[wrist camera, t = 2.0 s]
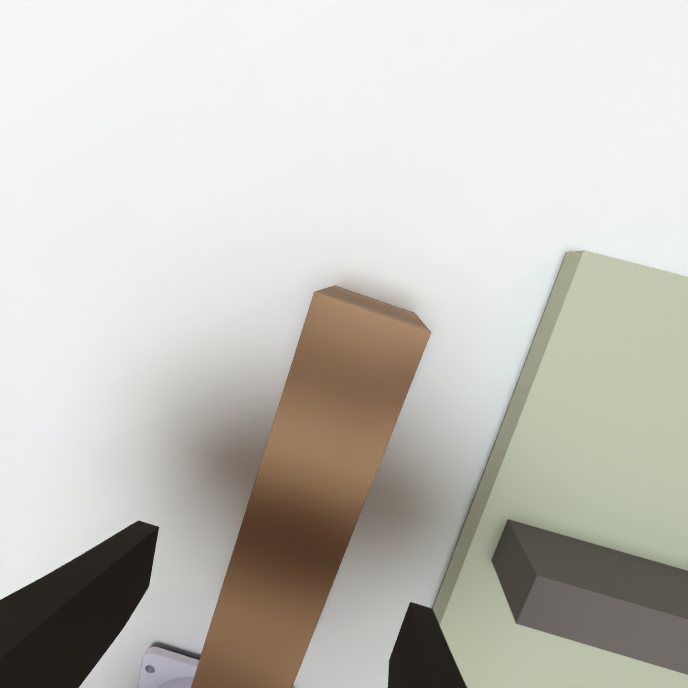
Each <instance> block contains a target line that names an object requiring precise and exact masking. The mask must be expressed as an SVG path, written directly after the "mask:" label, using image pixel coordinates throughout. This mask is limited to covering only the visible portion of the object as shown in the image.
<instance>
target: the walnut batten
mask: <svg viewBox="0 0 688 688" xmlns="http://www.w3.org/2000/svg"><path fill="white" fill-rule="evenodd" d="M430 334H431V332H430V330H429V329H428V328H427V327H426V326H425V325H424V323H423V322H422V321H421V320H420V319H419V318H418V316H417V315H416V314H415V313H413V312H410V311H407V310H404V309H401V308H398V307H395V306H392V305H389V304H386V303H384V302H381V301H378V300H375V299H372V298H369V297H366V296H363V295H360V294H357V293H354V292H351V291H349V290H346V289H343V288H340V287H337V286H332V287H329V288H326V289H322V290H319V291H316V292H314V294H313V297H312V301H311V304H310V307H309V310H308V313H307V317H306V320H305V323H304V326H303V329H302V333H301V336H300V339H299V342H298V345H297V349H296V352H295V355H294V358H293V361H292V365H291V368H290V371H289V374H288V377H287V381H286V384H285V387H284V390H283V393H282V397H281V400H280V403H279V406H278V410H277V413H276V416H275V419H274V422H273V426H272V429H271V432H270V435H269V438H268V442H267V445H266V448H265V451H264V454H263V458H262V461H261V464H260V467H259V470H258V474H257V477H256V480H255V483H254V486H253V490H252V493H251V496H250V499H249V502H248V506H247V509H246V512H245V515H244V519H243V522H242V525H241V528H240V531H239V535H238V538H237V541H236V544H235V547H234V551H233V554H232V557H231V560H230V563H229V567H228V570H227V573H226V576H225V579H224V583H223V586H222V589H221V592H220V595H219V599H218V602H217V605H216V608H215V611H214V615H213V618H212V621H211V624H210V628H209V631H208V634H207V637H206V640H205V644H204V647H203V650H202V653H201V656H200V660H199V663H198V666H197V669H196V672H195V676H194V679H193V682H192V685H191V688H292V686H293V684H294V681H295V679H296V676H297V674H298V671H299V668H300V666H301V663H302V661H303V658H304V656H305V653H306V651H307V648H308V645H309V643H310V640H311V638H312V635H313V633H314V630H315V628H316V625H317V622H318V620H319V617H320V615H321V612H322V610H323V607H324V605H325V602H326V599H327V597H328V594H329V592H330V589H331V587H332V584H333V582H334V579H335V577H336V574H337V571H338V569H339V566H340V564H341V561H342V559H343V556H344V554H345V551H346V548H347V546H348V543H349V541H350V538H351V536H352V533H353V531H354V528H355V525H356V523H357V520H358V518H359V515H360V513H361V510H362V508H363V505H364V502H365V500H366V497H367V495H368V492H369V490H370V487H371V485H372V482H373V479H374V477H375V474H376V472H377V469H378V467H379V464H380V462H381V459H382V457H383V454H384V451H385V449H386V446H387V444H388V441H389V439H390V436H391V434H392V431H393V428H394V426H395V423H396V421H397V418H398V416H399V413H400V411H401V408H402V405H403V403H404V400H405V398H406V395H407V393H408V390H409V388H410V385H411V382H412V380H413V377H414V375H415V372H416V370H417V367H418V365H419V362H420V359H421V357H422V354H423V352H424V349H425V347H426V344H427V342H428V339H429V337H430Z"/></svg>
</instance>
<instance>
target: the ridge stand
mask: <svg viewBox="0 0 688 688" xmlns="http://www.w3.org/2000/svg"><path fill="white" fill-rule="evenodd" d="M433 611H434V613H435V615H436V618H437V620H438V622H439V625H440V627H441V630H442V632H443V634H444V637H445V639H446V641H447V644H448V646H449V648H450V651H451V653H452V655H453V657H454V660H455V662H456V664H457V666H458V669H459V671H460V673H461V675H462V677H463V680H464V682H465V684H466V686H467V688H688V277H686V276H682V275H678V274H674V273H670V272H666V271H662V270H658V269H654V268H650V267H646V266H642V265H638V264H635V263H631V262H627V261H623V260H619V259H615V258H611V257H607V256H603V255H599V254H595V253H591V252H587V251H576V252H566V255H565V258H564V260H563V263H562V266H561V268H560V271H559V274H558V276H557V279H556V282H555V284H554V287H553V290H552V292H551V295H550V298H549V300H548V303H547V306H546V308H545V311H544V314H543V316H542V319H541V322H540V324H539V327H538V330H537V332H536V335H535V338H534V340H533V343H532V346H531V348H530V351H529V354H528V356H527V359H526V362H525V364H524V367H523V370H522V372H521V375H520V378H519V380H518V383H517V386H516V388H515V391H514V394H513V396H512V399H511V402H510V404H509V407H508V410H507V412H506V415H505V418H504V420H503V423H502V426H501V428H500V431H499V434H498V436H497V439H496V442H495V444H494V447H493V449H492V452H491V455H490V457H489V460H488V463H487V465H486V468H485V471H484V473H483V476H482V479H481V481H480V484H479V487H478V489H477V492H476V495H475V497H474V500H473V503H472V505H471V508H470V511H469V513H468V516H467V519H466V521H465V524H464V527H463V529H462V532H461V535H460V537H459V540H458V543H457V545H456V548H455V551H454V553H453V556H452V559H451V561H450V564H449V567H448V569H447V572H446V575H445V577H444V580H443V583H442V585H441V588H440V591H439V593H438V596H437V599H436V601H435V604H434V607H433Z"/></svg>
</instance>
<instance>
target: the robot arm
mask: <svg viewBox="0 0 688 688" xmlns="http://www.w3.org/2000/svg"><path fill="white" fill-rule="evenodd" d="M158 530H159V527H158V526H155V525H151V524H148V523H145V522H141V521H137V522H135V523H133V524H132V525H130V526H128V527H127V528H125V529H123V530H122V531H120V532H118V533H117V534H115V535H113V536H112V537H110V538H108V539H107V540H105V541H104V542H102V543H100V544H99V545H97V546H95V547H94V548H92V549H90V550H89V551H87V552H85V553H84V554H82V555H80V556H79V557H77V558H75V559H73V560H72V561H70V562H68V563H66V564H65V565H63V566H61V567H60V568H58V569H56V570H54V571H53V572H51V573H49V574H47V575H46V576H44V577H42V578H40V579H38V580H36V581H35V582H33V583H31V584H29V585H27V586H25V587H23V588H22V589H20V590H18V591H16V592H14V593H12V594H10V595H9V596H7V597H5V598H3V599H1V600H0V688H79V686H80V685H81V684H82V682H83V681H84V680H85V679H86V677H87V676H88V675H89V673H90V672H91V671H92V669H93V668H94V667H95V665H96V664H97V663H98V661H99V660H100V659H101V657H102V656H103V655H104V653H105V652H106V651H107V649H108V648H109V647H110V645H111V644H112V643H113V641H114V640H115V639H116V637H117V636H118V634H119V633H120V632H121V630H122V629H123V628H124V626H125V625H126V623H127V621H128V620H129V618H130V617H131V615H132V613H133V612H134V610H135V609H136V607H137V605H138V604H139V602H140V600H141V599H142V597H143V595H144V594H145V592H146V590H147V589H148V587H149V583H150V577H151V571H152V565H153V559H154V553H155V547H156V541H157V536H158ZM198 663H199V660H197V659H194V658H191V657H188V656H185V655H181V654H178V653H175V652H172V651H169V650H165V649H162V648H159V647H150V648H149V649H147V651H146V653H145V654H144V656H143V660H142V665H141V671H140V677H139V683H138V688H191V685H192V682H193V679H194V676H195V672H196V669H197V666H198ZM388 688H467V686H466V684H465V682H464V680H463V677H462V675H461V673H460V671H459V669H458V666H457V664H456V662H455V660H454V657H453V655H452V653H451V651H450V648H449V646H448V644H447V641H446V639H445V637H444V634H443V632H442V630H441V627H440V625H439V622H438V620H437V618H436V615H435V613H434V611H433V609H431V608H428V607H425V606H421V605H418V604H415V603H411V602H410V604H409V607H408V609H407V612H406V615H405V618H404V621H403V623H402V626H401V629H400V632H399V635H398V637H397V640H396V643H395V646H394V648H393V651H392V654H391V657H390V660H389V677H388Z"/></svg>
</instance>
